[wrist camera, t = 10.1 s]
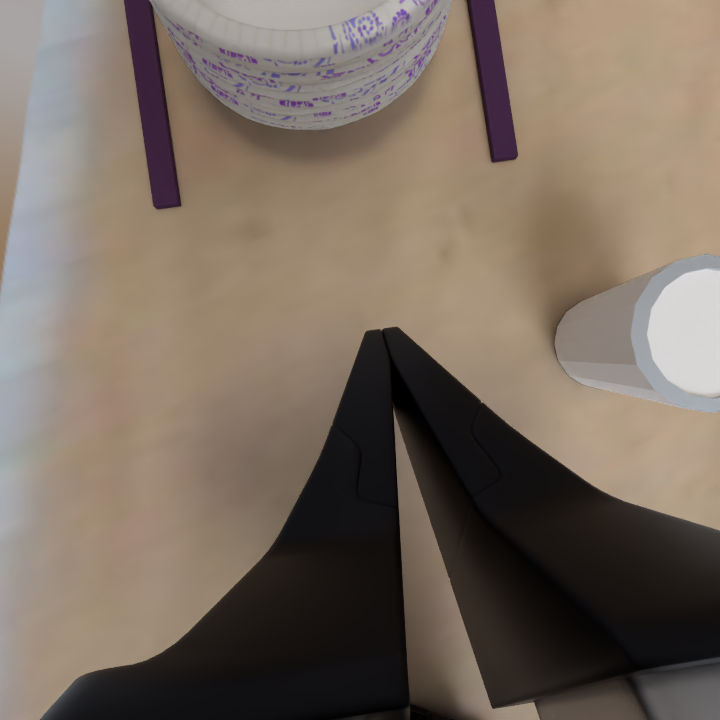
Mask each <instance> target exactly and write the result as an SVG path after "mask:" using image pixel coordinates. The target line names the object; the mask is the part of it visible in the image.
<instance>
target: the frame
mask: <svg viewBox="0 0 720 720" xmlns="http://www.w3.org/2000/svg"><path fill="white" fill-rule="evenodd" d="M467 1H468V8H469V14H470V21H471V27H472V34H473V40H474V47H475V53H476V60H477V66H478V73H479V79H480V86H481V92H482V99H483V105H484V112H485V118H486V125H487V131H488V138H489V144H490V151H491V158H492V162H498V161H506V160H513V159H516V158H517V156H518V152H517V146H516V139H515V133H514V126H513V120H512V113H511V107H510V100H509V94H508V87H507V81H506V74H505V68H504V61H503V55H502V48H501V42H500V35H499V29H498V22H497V16H496V9H495V3H494V0H467ZM124 4H125V10H126V17H127V24H128V31H129V38H130V45H131V52H132V59H133V66H134V73H135V80H136V87H137V94H138V101H139V108H140V115H141V122H142V129H143V136H144V143H145V150H146V157H147V164H148V171H149V178H150V185H151V192H152V199H153V205H154V207H155V208H156V209H161V208H168V207H176V206H181V203H180V196H179V189H178V182H177V175H176V168H175V161H174V155H173V148H172V141H171V134H170V127H169V120H168V113H167V106H166V99H165V92H164V85H163V78H162V71H161V64H160V58H159V51H158V44H157V37H156V30H155V23H154V16H153V9H152V4H151V2H150V1H149V0H124Z"/></svg>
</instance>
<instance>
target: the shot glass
mask: <svg viewBox="0 0 720 720" xmlns="http://www.w3.org/2000/svg"><path fill="white" fill-rule="evenodd" d="M554 345H555V349H556V354H557V358H558V362H559V363H560V364H561V366H562V367H563V369H564V370H565V372H566V373H567V374H568V376H570V377H571V378H573V379H575V380H576V381H578V382H579V383H581V384H582V385H586V386H590V387H594V388H599V389H603V390H607V391H612V392H616V393H620V394H624V395H629V396H633V397H637V398H642V399H646V400H650V401H655V402H659V403H663V404H668V405H672V406H676V407H680V408H686V409H691V410H697V411H703V412H708V413H714V412H718V411H720V256H714V255H709V254H704V255H700V256H695V257H690V258H686V259H681V260H677V261H674V262H672V263H670V264H667V265H665V266H663V267H660V268H658V269H656V270H653V271H651V272H649V273H646V274H644V275H642V276H639V277H637V278H635V279H632V280H630V281H628V282H625V283H623V284H621V285H618V286H616V287H614V288H611V289H609V290H607V291H604V292H602V293H600V294H597V295H595V296H593V297H590V298H588V299H586V300H583V301H581V302H579V303H578V304H577V305H575V306H574V307H572V308H571V309H569V310H568V311H567V312H566V313H565V315H564V316H563V318H562V320H561V321H560V323H559V324H558V326H557V330H556V336H555V342H554Z"/></svg>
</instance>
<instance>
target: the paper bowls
mask: <svg viewBox="0 0 720 720" xmlns="http://www.w3.org/2000/svg"><path fill="white" fill-rule="evenodd" d="M149 1H150V2H151V4H152V6H153V8H154V10H155V12H156V13H157V15H158V17H159V19H160V21H161V22H162V24H163V25H164V27H165V29H166V30H167V32H168V34H169V36H170V37H171V39H172V41H173V43H174V45H175V46H176V48H177V50H178V52H179V53H180V55H181V57H182V59H183V60H184V62H185V63H186V65H187V66H188V67H189V69H190V70H191V71H192V73H193V74H194V75H195V77H196V78H197V79H198V80H199V82H200V83H201V84H202V85H203V86H204V87H205V88H206V89H207V90H208V91H209V92H210V93H211V94H212V95H213V96H214V97H216V98H217V99H218V100H219V101H221V102H222V103H223V104H224V105H225V106H227V107H228V108H230V109H232V110H233V111H235V112H236V113H238V114H240V115H242V116H243V117H245V118H247V119H250V120H252V121H255V122H258V123H261V124H265V125H268V126H273V127H279V128H284V129H293V130H323V129H331V128H335V127H339V126H343V125H346V124H348V123H351V122H354V121H357V120H360V119H362V118H365V117H367V116H370V115H372V114H374V113H376V112H378V111H380V110H382V109H383V108H385V107H386V106H388V105H389V104H390V103H392V102H393V101H394V100H395V99H397V98H398V97H399V96H400V95H402V94H403V93H404V92H405V91H406V90H408V89H409V88H410V87H411V86H412V84H413V83H414V82H415V81H416V80H417V79H418V77H419V76H420V75H421V73H422V72H423V71H424V69H425V68H426V66H427V65H428V63H429V62H430V60H431V58H432V57H433V55H434V53H435V51H436V49H437V47H438V45H439V42H440V40H441V37H442V34H443V31H444V28H445V25H446V22H447V18H448V15H449V11H450V7H451V3H452V0H149Z"/></svg>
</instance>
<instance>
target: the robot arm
mask: <svg viewBox="0 0 720 720" xmlns="http://www.w3.org/2000/svg"><path fill="white" fill-rule="evenodd" d="M393 408H394V412H395V415H396V418H397V421H398V424H399V427H400V431H401V434H402V437H403V440H404V443H405V446H406V449H407V452H408V455H409V458H410V461H411V464H412V467H413V470H414V473H415V476H416V479H417V482H418V485H419V488H420V491H421V494H422V497H423V500H424V503H425V506H426V509H427V512H428V515H429V518H430V521H431V525H432V528H433V531H434V534H435V537H436V540H437V543H438V546H439V549H440V552H441V555H442V558H443V561H444V564H445V567H446V570H447V573H448V576H449V578H450V582H451V585H452V588H453V591H454V594H455V598H456V601H457V604H458V607H459V610H460V613H461V616H462V619H463V622H464V625H465V628H466V631H467V634H468V637H469V640H470V643H471V646H472V649H473V652H474V655H475V658H476V661H477V664H478V667H479V670H480V673H481V676H482V679H483V682H484V685H485V688H486V691H487V694H488V697H489V700H490V703H491V706H492V708H493V709H495V708H501V707H507V706H514V705H520V704H526V703H532V702H534V703H535V706H536V709H537V712H538V715H539V718H540V720H720V531H719V530H716V529H713V528H710V527H706V526H703V525H700V524H696V523H693V522H690V521H687V520H683V519H680V518H677V517H673V516H670V515H667V514H664V513H660V512H657V511H654V510H650V509H647V508H644V507H641V506H637V505H634V504H631V503H628V502H625V501H622V500H620V499H617V498H615V497H613V496H611V495H609V494H607V493H605V492H603V491H601V490H599V489H598V488H596V487H594V486H593V485H591V484H590V483H588V482H587V481H585V480H584V479H582V478H581V477H579V476H578V475H577V474H575V473H574V472H572V471H571V470H570V469H568V468H567V467H565V466H564V465H563V464H561V463H560V462H558V461H557V460H556V459H554V458H553V457H552V456H550V455H549V454H547V453H546V452H545V451H543V450H542V449H540V448H539V447H538V446H536V445H535V444H533V443H532V442H531V441H529V440H528V439H527V438H525V437H524V436H523V435H521V434H520V433H519V432H517V431H516V430H515V429H513V428H512V427H511V426H510V425H508V424H507V423H506V422H505V421H504V420H502V419H501V418H500V417H499V416H498V415H497V414H495V413H494V412H493V411H492V410H491V409H490V408H489V407H487V406H486V405H485V404H484V403H481V401H480V400H479V399H478V398H477V397H476V396H475V395H474V394H473V393H471V392H470V391H469V390H468V389H467V388H466V387H465V386H464V385H462V384H461V383H460V382H459V381H458V380H457V379H456V378H455V377H453V376H452V375H451V374H450V373H449V372H448V371H447V370H446V369H444V368H443V367H442V366H441V365H440V364H439V363H438V362H437V361H435V360H434V359H433V358H432V357H431V356H430V355H429V354H428V353H426V352H425V351H424V350H423V349H422V348H421V347H420V346H419V345H417V344H416V343H415V342H414V341H413V340H412V339H411V338H410V337H409V336H407V335H406V334H405V333H404V332H403V331H402V330H401V329H400V328H398V327H390V328H384V329H383V330H382V331H381V330H380V329H377V330H370V331H366V332H365V334H364V337H363V340H362V343H361V346H360V348H359V351H358V354H357V357H356V359H355V362H354V365H353V368H352V370H351V373H350V376H349V379H348V382H347V384H346V387H345V390H344V393H343V395H342V398H341V401H340V404H339V407H338V409H337V412H336V415H335V418H334V420H333V425H332V426H331V428H330V431H329V434H328V437H327V439H326V442H325V444H324V447H323V449H322V452H321V454H320V456H319V459H318V461H317V463H316V465H315V467H314V469H313V471H312V473H311V475H310V477H309V479H308V481H307V483H306V485H305V487H304V488H303V490H302V492H301V494H300V496H299V498H298V500H297V502H296V504H295V506H294V507H293V509H292V511H291V513H290V515H289V517H288V519H287V521H286V523H285V525H284V526H283V528H282V530H281V532H280V534H279V535H278V537H277V538H276V540H275V542H274V543H273V545H272V546H271V548H270V549H269V550H268V552H267V553H266V554H265V555H264V556H263V558H262V559H261V560H260V561H259V562H258V563H257V564H256V565H255V566H254V567H253V568H252V569H251V570H250V571H249V572H248V573H247V574H246V575H245V576H244V577H243V578H242V579H241V580H240V581H239V582H238V583H237V584H236V585H235V586H234V587H233V588H232V589H231V590H230V591H229V592H228V593H227V594H226V595H225V596H224V597H223V598H222V599H221V600H220V601H219V602H218V603H217V604H216V605H215V606H214V607H213V608H212V609H211V610H210V611H209V612H208V613H207V614H206V615H205V616H204V617H203V618H202V619H201V620H200V621H199V622H198V623H197V624H196V625H195V626H194V627H193V628H192V629H191V630H190V631H189V632H188V633H187V634H185V635H184V636H183V637H182V638H181V639H180V640H179V641H178V642H176V643H175V644H174V645H172V646H171V647H169V648H168V649H166V650H165V651H163V652H162V653H160V654H158V655H156V656H154V657H152V658H150V659H148V660H146V661H143V662H140V663H136V664H133V665H126V666H120V667H114V668H108V669H103V670H98V671H94V672H91V673H87V674H85V675H83V676H81V677H79V678H78V679H76V680H75V681H74V682H73V683H72V684H71V686H70V687H69V688H68V689H67V690H66V691H65V692H64V693H63V694H62V695H61V697H60V698H59V699H58V700H57V701H56V702H55V703H54V704H53V705H52V706H51V707H50V709H49V710H48V711H47V712H46V713H45V714H44V715H43V716H42V718H41V719H40V720H452V719H449V718H447V717H444V716H441V715H439V714H436V713H433V712H431V711H428V710H425V709H423V708H420V707H417V706H415V705H412V704H410V694H409V682H408V669H407V651H406V633H405V615H404V597H403V579H402V561H401V543H400V525H399V507H398V488H397V469H396V451H395V432H394V414H393Z"/></svg>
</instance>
